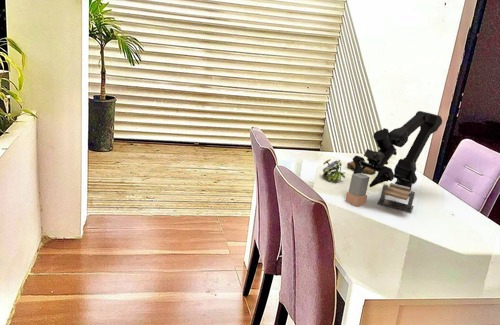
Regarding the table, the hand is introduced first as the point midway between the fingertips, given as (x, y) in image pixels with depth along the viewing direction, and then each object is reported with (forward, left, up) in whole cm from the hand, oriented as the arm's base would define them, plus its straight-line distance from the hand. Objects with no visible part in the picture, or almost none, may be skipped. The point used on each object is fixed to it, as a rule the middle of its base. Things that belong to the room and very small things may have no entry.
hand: (360, 182), depth 192 cm
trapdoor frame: (-16, +1, -9) cm, 19 cm away
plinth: (+1, +1, -9) cm, 9 cm away
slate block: (+1, +1, -5) cm, 5 cm away
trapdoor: (-15, +4, -2) cm, 15 cm away
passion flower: (+3, -28, -9) cm, 30 cm away
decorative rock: (-17, -47, -9) cm, 51 cm away
